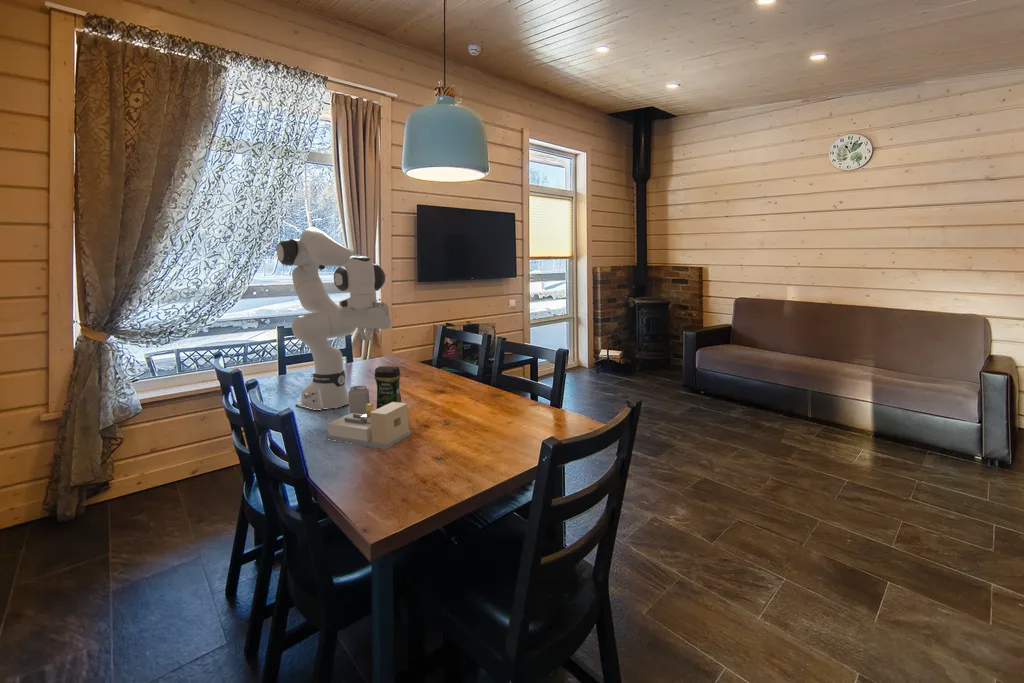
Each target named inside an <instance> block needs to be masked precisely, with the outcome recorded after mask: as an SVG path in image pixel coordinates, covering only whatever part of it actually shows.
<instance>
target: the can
mask: <svg viewBox="0 0 1024 683" xmlns="http://www.w3.org/2000/svg"><path fill="white" fill-rule="evenodd" d="M347 393H348V396H349V404H348V407H349V408H348V409H349V414H351V413H357V414H366V404H370V402H371V400H370V391H369V389H368V388H367V386H366V385H355V386H351V387H349V391H347Z"/></svg>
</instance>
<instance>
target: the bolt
mask: <svg viewBox="0 0 1024 683" xmlns="http://www.w3.org/2000/svg"><path fill="white" fill-rule="evenodd" d="M374 410H375V409H374V403H370V404H366V414H364V415H362V416H360V420H365V423H371V419H370V412H372V411H374Z"/></svg>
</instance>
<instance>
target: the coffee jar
mask: <svg viewBox="0 0 1024 683" xmlns="http://www.w3.org/2000/svg"><path fill="white" fill-rule="evenodd" d="M400 379H401V370H400V367H399V366H394V365H393V366H390V365H386V366H385V365H379V366H377V367H376V368H375V370H374V381H375V384H376V409H378V408H380V407H383V406H385V405H387V404H389V403H391V402H398V403H403V402H402V397H401V388H400Z"/></svg>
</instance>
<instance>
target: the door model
mask: <svg viewBox="0 0 1024 683" xmlns="http://www.w3.org/2000/svg"><path fill="white" fill-rule="evenodd" d="M408 410H409V409H408V403H404V402H402V403H398V402H391V403H389V404H387V405H385V406H383V407H380V408H378V409H377V408H376V409H374V411H372V412H370V419H371V423H365V420H360V416H362V415H364V414H357V413H351V414H350V413H348V414H346V415H345V416H341V417H340V418H338V419H337V418H336V420H333V421H331V422H329V423H327V427H328V428H327V429H328V435H326V440H327V439H330V440H336V441H341V442H340V443H342V442H347V443H346V444H348V443H352V444H351V445H354V444H358V445H357V446H360V445H363V446H362V447H366V446H368V447H367V448H372V447H374V449H378V448H381V449H380V450H384V449H386V450H388V449H390V448H391V447H393V446H394V444H395V443H396V444H397V442H398V441H399V442H401V441H403V440H404V439H406V438H408V437H409V436H411V433H412V432H411V430H410V428H409V414H408ZM407 436H408V437H407ZM405 437H406V438H405ZM402 439H403V440H402ZM330 440H329V441H330ZM400 440H401V441H400ZM336 441H335V442H336ZM399 442H398V443H399ZM396 444H395V445H396ZM392 445H393V446H392ZM390 446H391V447H390ZM389 447H390V448H389ZM387 448H388V449H387Z"/></svg>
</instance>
